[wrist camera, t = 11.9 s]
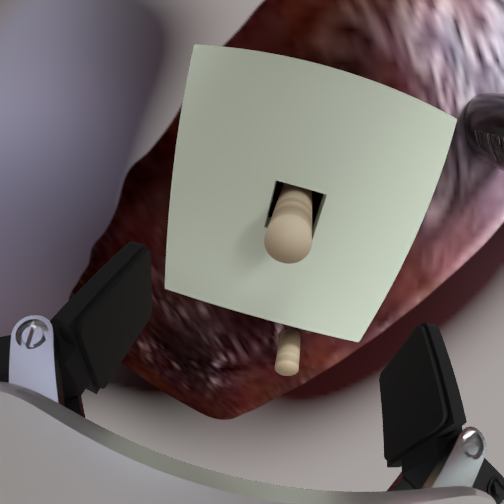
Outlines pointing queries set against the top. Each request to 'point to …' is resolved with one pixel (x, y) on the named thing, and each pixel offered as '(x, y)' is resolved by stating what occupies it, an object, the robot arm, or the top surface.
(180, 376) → the top surface
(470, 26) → the top surface
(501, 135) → the supplement bottle
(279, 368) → the short birch pin
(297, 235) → the long birch pin
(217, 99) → the plate
